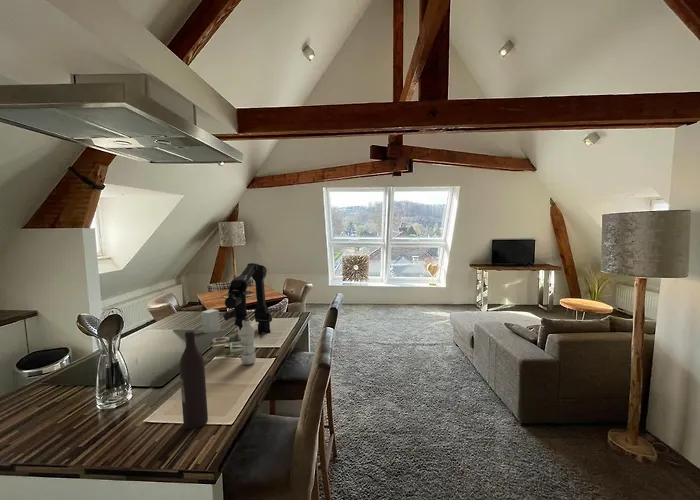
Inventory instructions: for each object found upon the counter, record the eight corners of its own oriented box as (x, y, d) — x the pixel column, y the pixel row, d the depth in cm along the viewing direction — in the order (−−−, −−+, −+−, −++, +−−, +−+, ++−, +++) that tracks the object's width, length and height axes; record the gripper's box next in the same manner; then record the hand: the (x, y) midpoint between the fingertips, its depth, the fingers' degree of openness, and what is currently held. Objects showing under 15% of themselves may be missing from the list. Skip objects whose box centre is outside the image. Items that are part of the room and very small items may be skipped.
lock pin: (246, 336, 175) (245, 321, 174) (246, 338, 171) (245, 323, 170) (237, 337, 174) (237, 322, 173) (238, 339, 170) (237, 324, 169)
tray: (254, 344, 180) (254, 339, 180) (255, 351, 169) (255, 346, 169) (230, 347, 176) (230, 342, 176) (230, 355, 165) (229, 350, 165)
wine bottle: (196, 415, 113) (190, 327, 110) (212, 419, 110) (207, 329, 108) (178, 427, 106) (171, 333, 104) (195, 432, 103) (189, 336, 101)
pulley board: (247, 337, 192) (246, 329, 192) (248, 344, 180) (247, 336, 179) (213, 341, 186) (212, 333, 186) (211, 349, 174) (211, 341, 174)
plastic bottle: (238, 366, 152) (235, 322, 150) (246, 360, 158) (244, 318, 157) (251, 367, 150) (248, 323, 149) (258, 361, 157) (256, 318, 155)
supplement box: (220, 330, 206) (219, 310, 205) (209, 334, 200) (208, 313, 199) (212, 328, 210) (211, 308, 209) (202, 332, 204) (200, 311, 203)
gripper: (223, 301, 177) (225, 330, 178) (222, 309, 160) (224, 342, 161) (245, 299, 181) (247, 328, 182) (247, 307, 163) (249, 339, 164)
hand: (242, 334), depth 172 cm, fingers closed on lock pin, 4 cm apart
